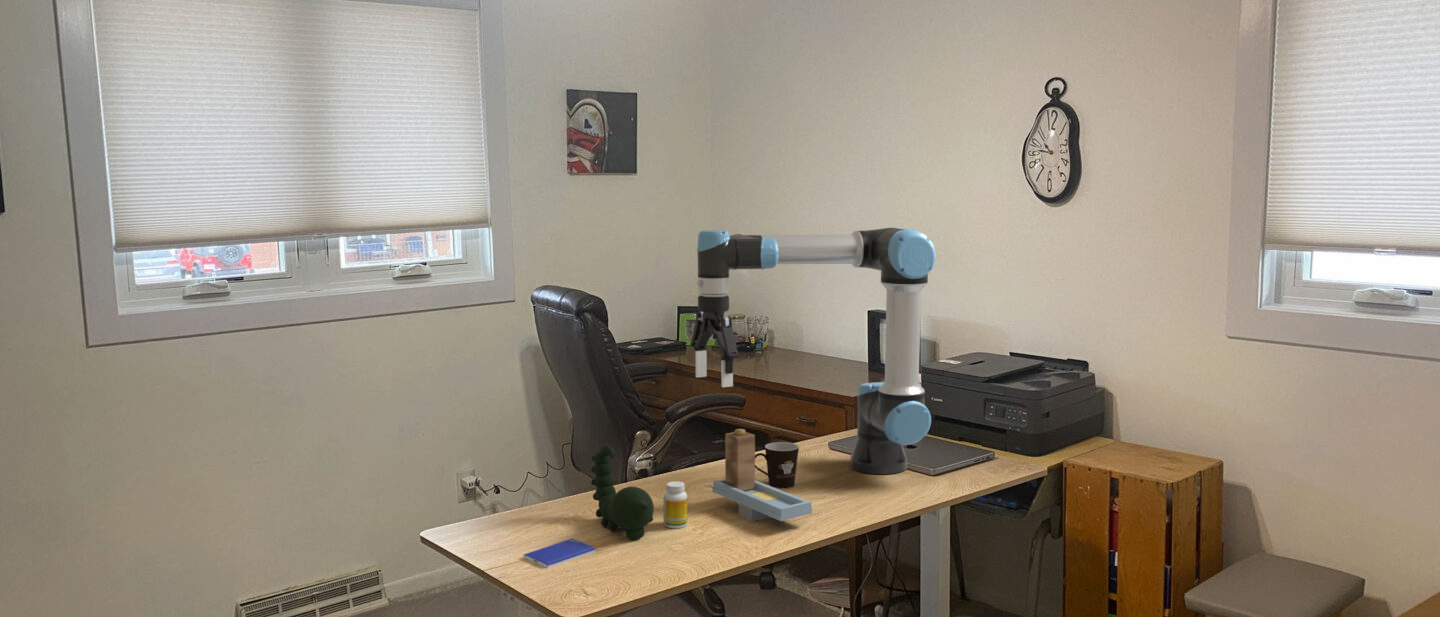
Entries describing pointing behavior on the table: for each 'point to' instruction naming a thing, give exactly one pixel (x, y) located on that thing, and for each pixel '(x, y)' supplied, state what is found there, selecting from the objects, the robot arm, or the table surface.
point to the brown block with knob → (740, 459)
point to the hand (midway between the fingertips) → (713, 381)
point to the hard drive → (559, 553)
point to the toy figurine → (619, 500)
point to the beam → (764, 501)
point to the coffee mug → (780, 463)
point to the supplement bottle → (675, 505)
